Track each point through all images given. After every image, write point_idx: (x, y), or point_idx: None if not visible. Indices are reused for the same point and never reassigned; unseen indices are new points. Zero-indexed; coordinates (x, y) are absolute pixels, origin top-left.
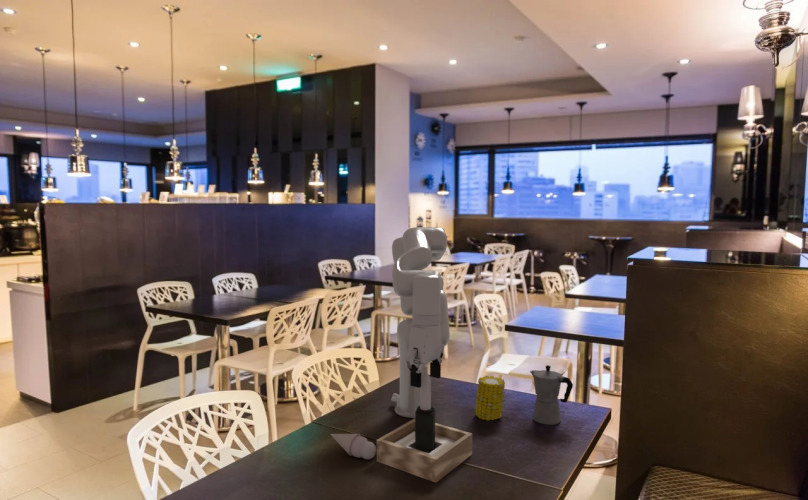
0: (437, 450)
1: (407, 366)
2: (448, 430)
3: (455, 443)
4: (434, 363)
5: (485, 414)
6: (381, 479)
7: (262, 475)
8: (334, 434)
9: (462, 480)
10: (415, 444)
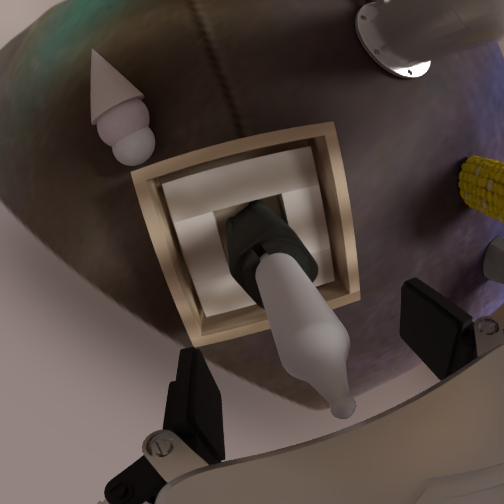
0: None
1: (105, 487)
2: (342, 242)
3: None
4: (455, 354)
5: (467, 190)
6: (113, 245)
7: None
8: (93, 58)
9: (244, 338)
10: (226, 230)
